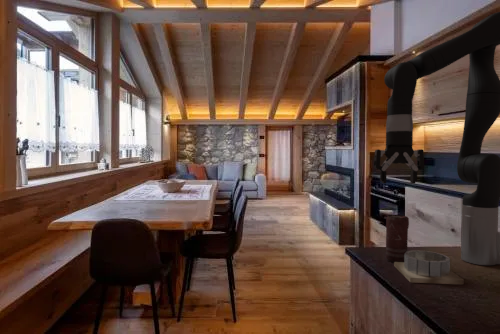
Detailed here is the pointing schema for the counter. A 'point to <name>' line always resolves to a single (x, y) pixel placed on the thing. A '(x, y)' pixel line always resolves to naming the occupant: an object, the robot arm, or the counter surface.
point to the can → (396, 237)
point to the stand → (423, 279)
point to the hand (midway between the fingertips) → (398, 183)
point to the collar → (427, 263)
